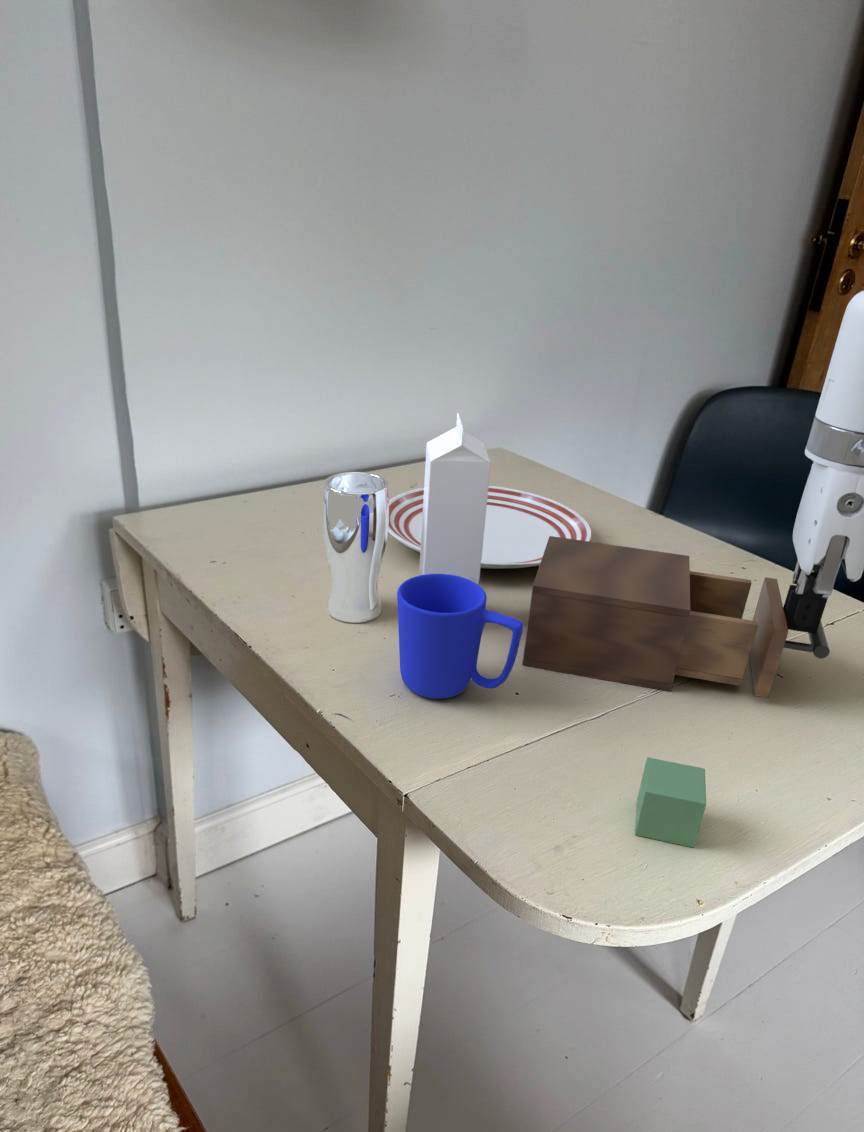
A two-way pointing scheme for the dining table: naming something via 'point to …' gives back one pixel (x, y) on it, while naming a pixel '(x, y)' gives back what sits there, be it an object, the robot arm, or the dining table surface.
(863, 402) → the robot arm
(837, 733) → the dining table surface
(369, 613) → the beer glass
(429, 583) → the mug
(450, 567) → the milk
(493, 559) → the dinner plate
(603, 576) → the cabinet
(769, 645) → the drawer
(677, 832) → the block
